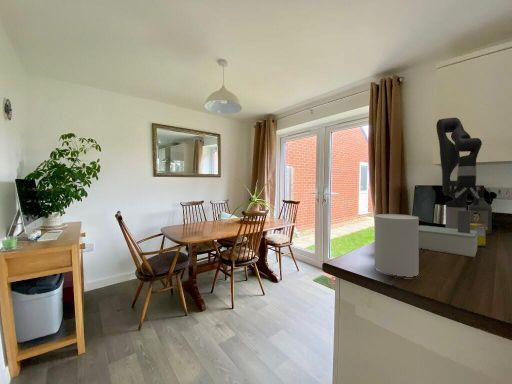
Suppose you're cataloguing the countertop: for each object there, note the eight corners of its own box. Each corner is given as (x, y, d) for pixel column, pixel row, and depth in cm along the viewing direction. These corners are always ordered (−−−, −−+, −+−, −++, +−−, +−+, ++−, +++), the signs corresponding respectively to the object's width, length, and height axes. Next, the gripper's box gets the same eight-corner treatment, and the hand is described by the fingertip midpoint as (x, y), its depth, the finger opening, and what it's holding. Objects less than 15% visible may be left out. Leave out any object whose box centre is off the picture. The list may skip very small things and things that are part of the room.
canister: (420, 281, 72) (420, 220, 72) (373, 273, 79) (373, 217, 79) (416, 268, 83) (416, 215, 83) (376, 262, 91) (375, 213, 90)
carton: (413, 247, 111) (413, 231, 111) (420, 241, 122) (420, 227, 122) (474, 257, 95) (474, 238, 95) (477, 249, 106) (477, 232, 105)
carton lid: (413, 231, 111) (413, 209, 111) (420, 226, 122) (420, 207, 121) (474, 238, 95) (475, 212, 94) (477, 232, 105) (477, 209, 105)
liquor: (473, 230, 147) (474, 185, 146) (492, 233, 139) (493, 185, 138) (466, 232, 143) (467, 185, 142) (486, 234, 135) (486, 185, 134)
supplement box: (475, 244, 115) (475, 223, 115) (485, 247, 109) (486, 225, 109) (462, 243, 116) (462, 223, 116) (472, 247, 110) (472, 225, 110)
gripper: (478, 176, 122) (477, 205, 122) (447, 175, 126) (445, 204, 126) (488, 175, 114) (486, 206, 115) (454, 174, 119) (452, 204, 119)
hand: (465, 205), depth 120 cm, fingers open, 8 cm apart
